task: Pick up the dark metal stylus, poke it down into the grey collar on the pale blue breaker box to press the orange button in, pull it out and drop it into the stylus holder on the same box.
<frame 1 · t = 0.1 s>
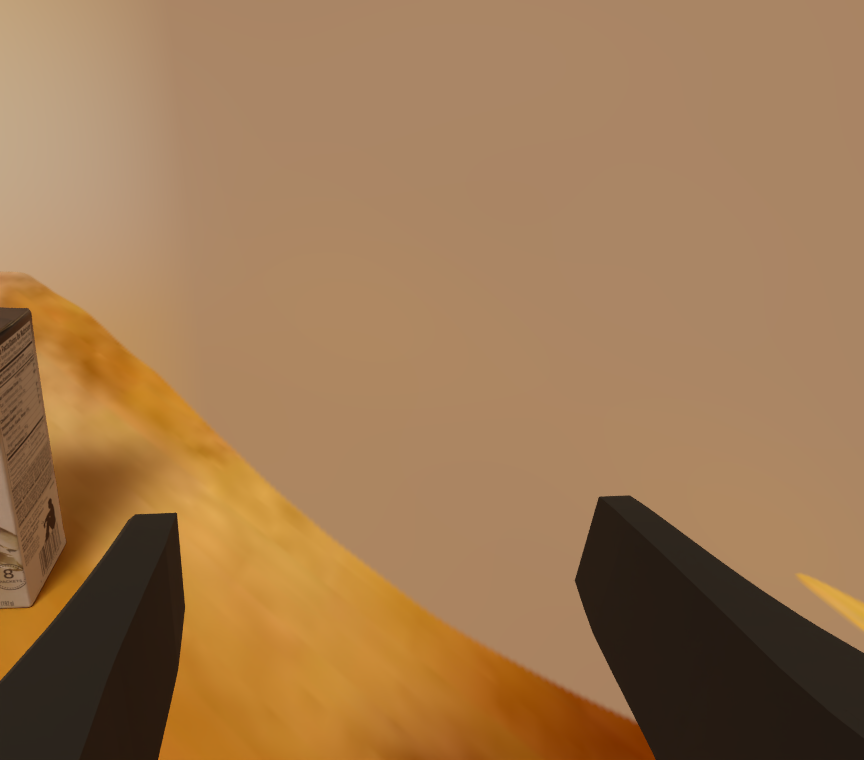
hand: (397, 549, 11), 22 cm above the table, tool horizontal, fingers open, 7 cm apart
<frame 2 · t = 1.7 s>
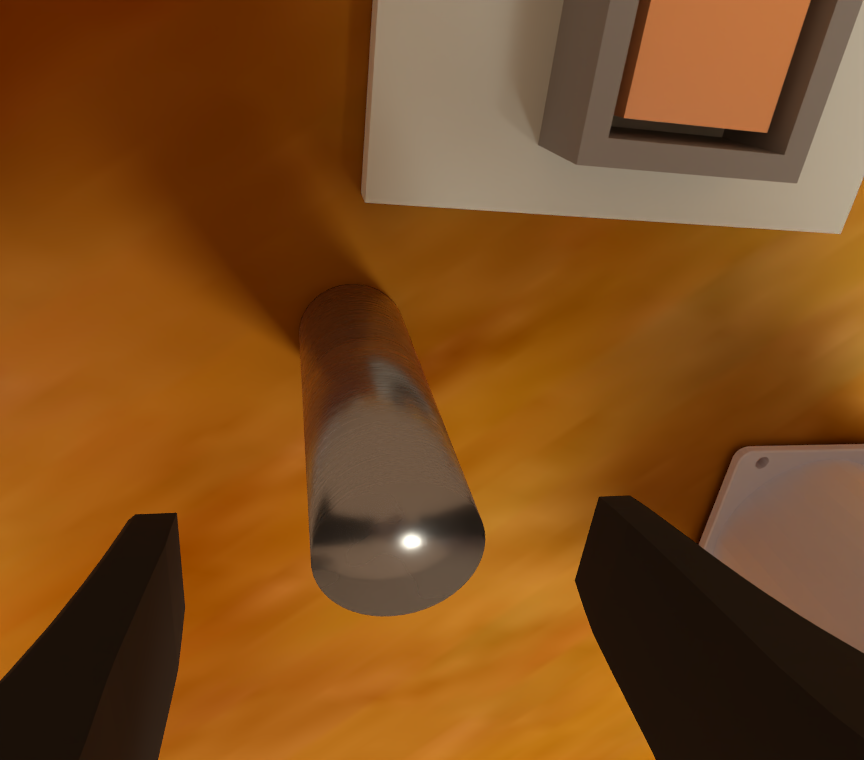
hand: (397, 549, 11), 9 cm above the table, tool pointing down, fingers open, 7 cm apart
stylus: (352, 333, 19), on the table
button: (707, 34, 14), point 3 cm above the table, slide at 0.0 cm
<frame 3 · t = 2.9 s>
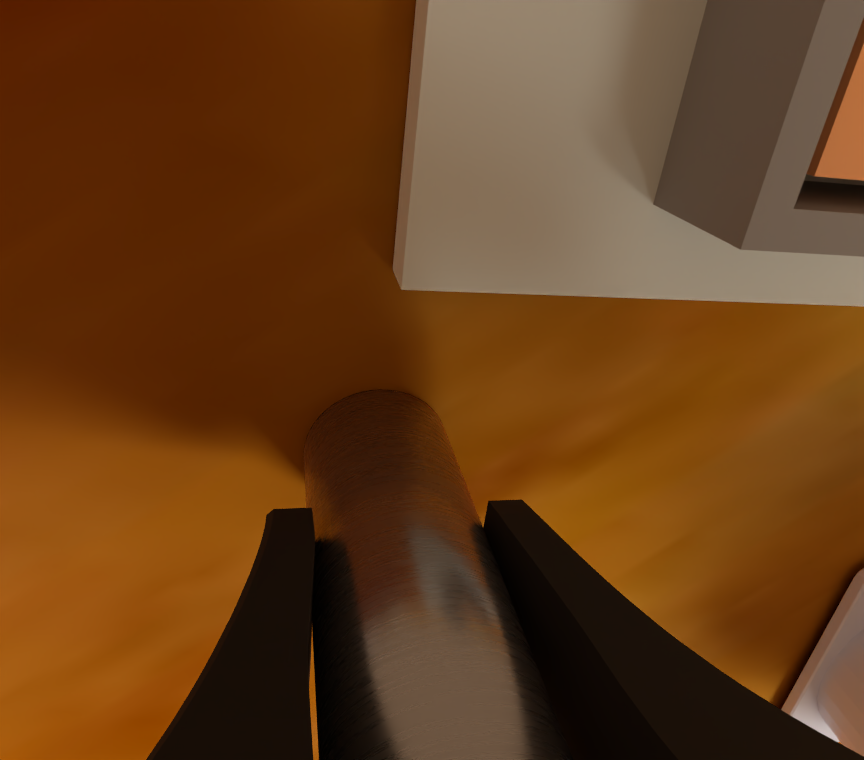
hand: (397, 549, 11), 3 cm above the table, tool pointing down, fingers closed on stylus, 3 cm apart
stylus: (376, 452, 14), on the table, touching gripper
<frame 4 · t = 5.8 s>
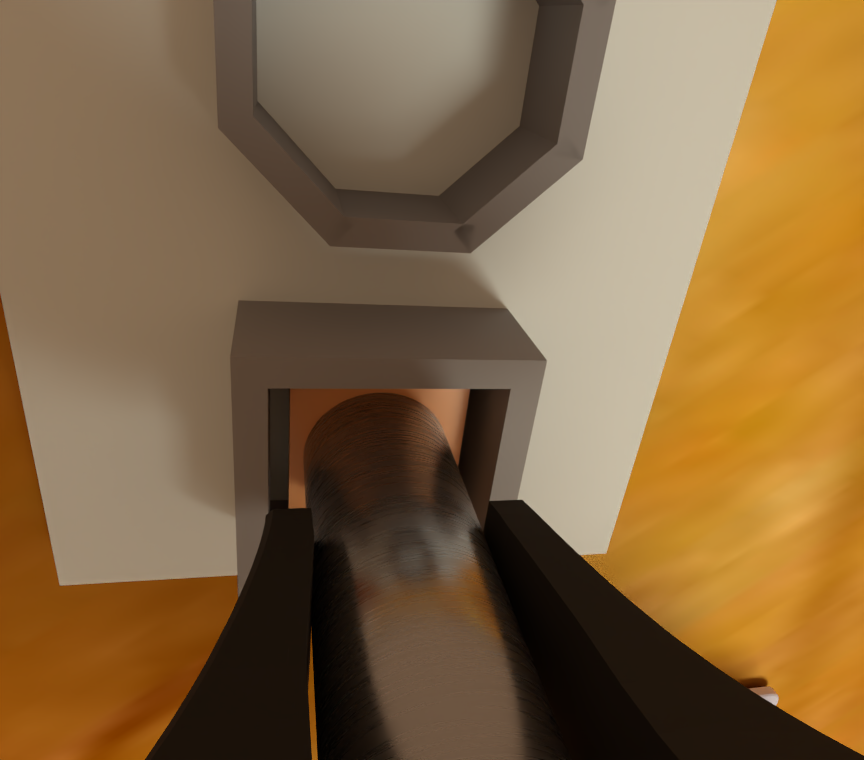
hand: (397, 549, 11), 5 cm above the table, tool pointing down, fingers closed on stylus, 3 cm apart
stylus: (376, 454, 14), point 2 cm above the table, touching button, gripper
button: (373, 437, 14), point 2 cm above the table, slide at 0.9 cm, touching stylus
panel: (375, 256, 14), on the table
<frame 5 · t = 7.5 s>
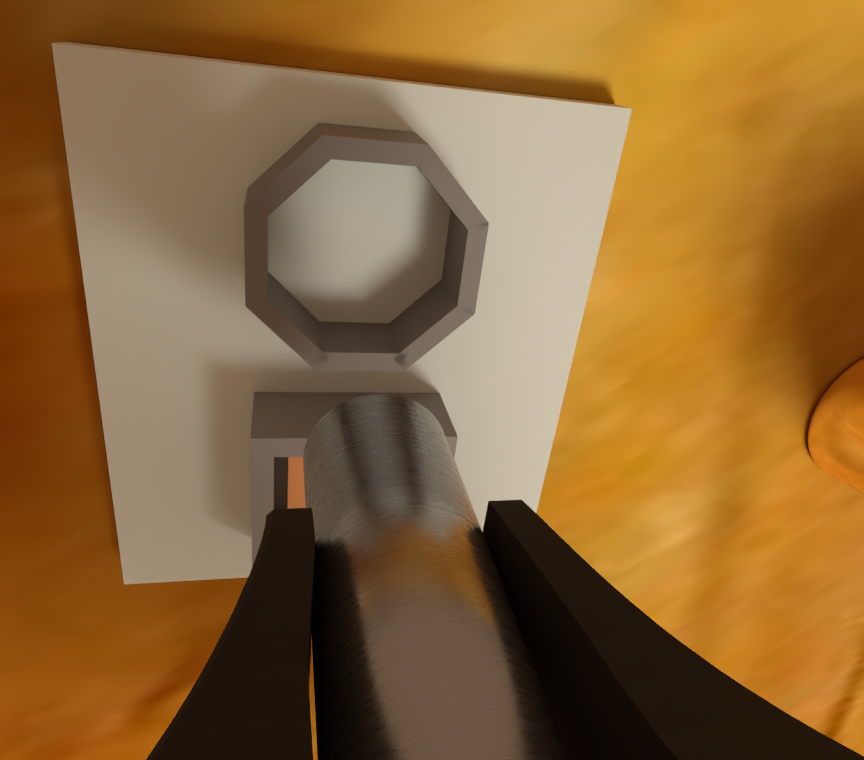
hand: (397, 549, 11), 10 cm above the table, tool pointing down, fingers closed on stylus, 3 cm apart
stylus: (376, 456, 14), point 7 cm above the table, touching gripper
button: (346, 482, 21), point 2 cm above the table, slide at 0.9 cm
panel: (348, 357, 21), on the table
when the fingers open (6 cm above the table, at t = 8.7 s): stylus drops 2 cm, resting on panel.
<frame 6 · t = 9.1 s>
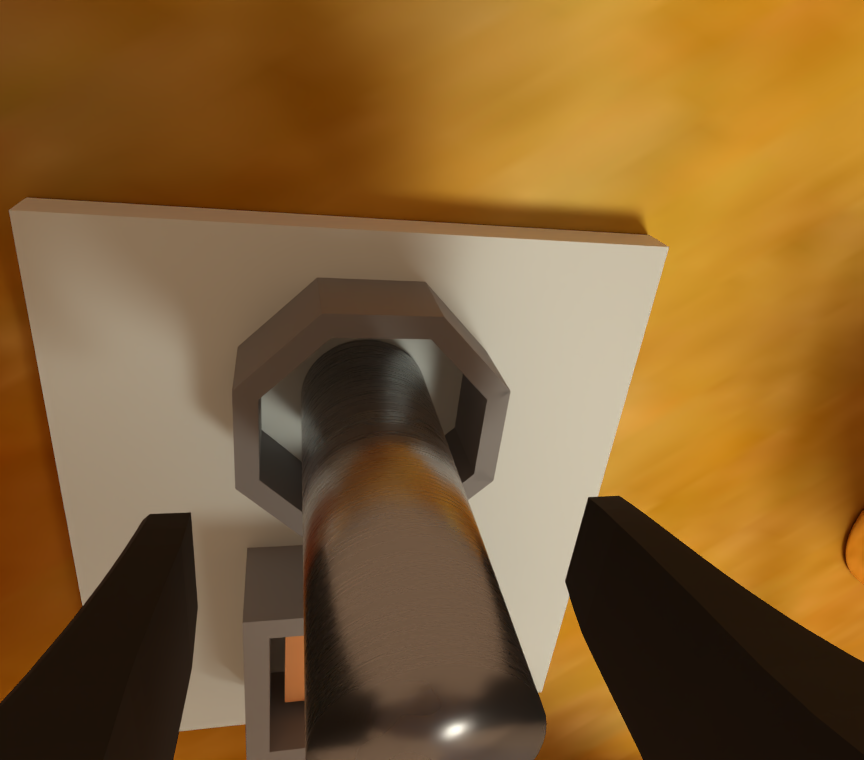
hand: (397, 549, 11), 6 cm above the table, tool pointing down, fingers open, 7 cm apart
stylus: (364, 396, 16), point 1 cm above the table, touching panel
button: (349, 635, 19), point 2 cm above the table, slide at 0.9 cm
panel: (351, 499, 19), on the table
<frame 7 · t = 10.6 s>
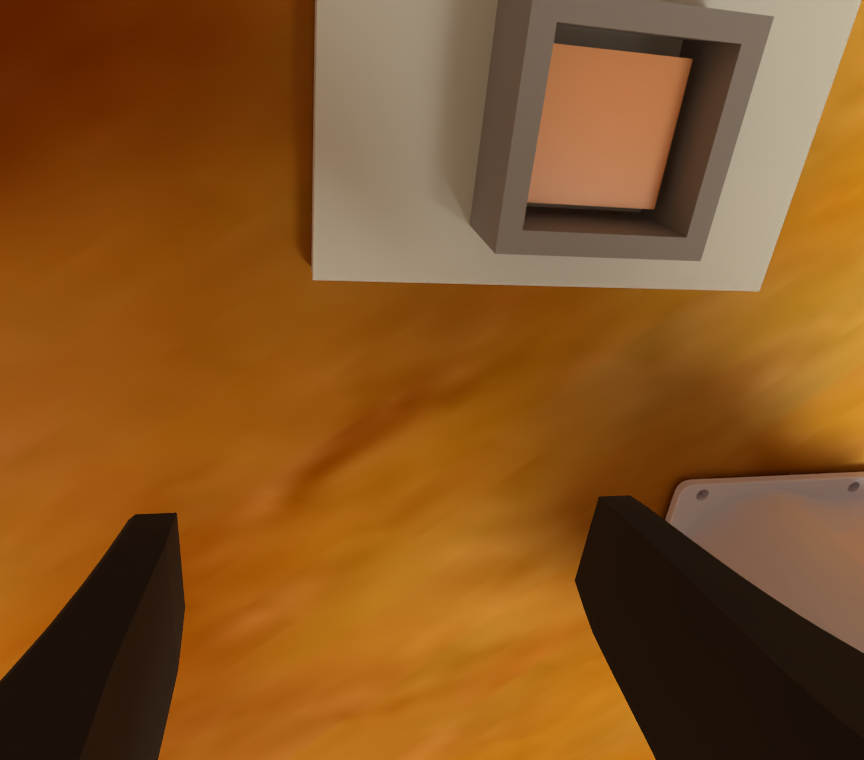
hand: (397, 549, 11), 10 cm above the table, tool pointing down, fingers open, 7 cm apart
button: (596, 128, 17), point 2 cm above the table, slide at 0.9 cm
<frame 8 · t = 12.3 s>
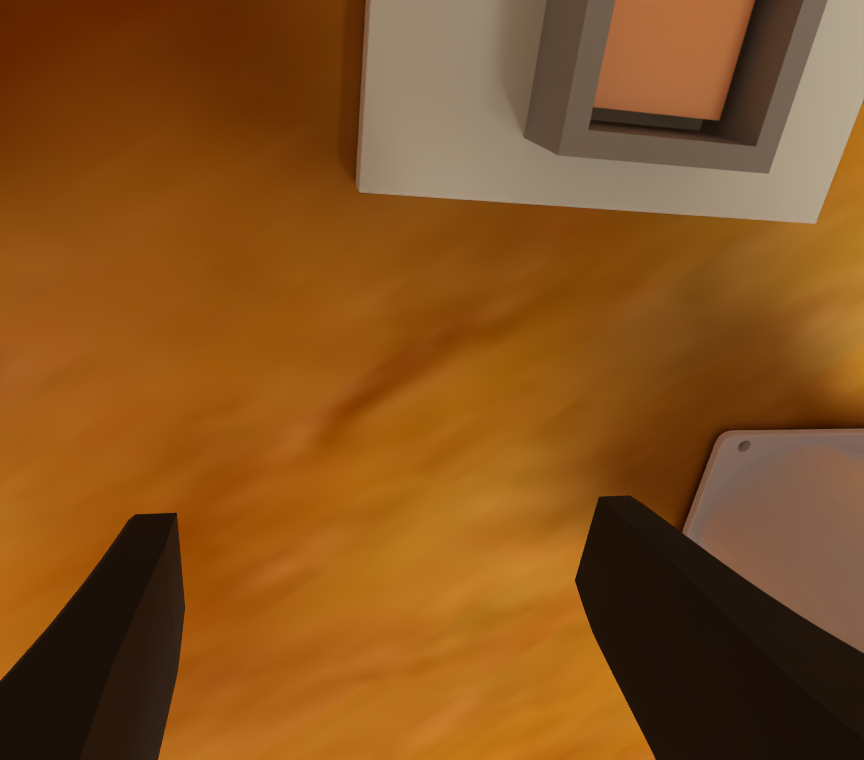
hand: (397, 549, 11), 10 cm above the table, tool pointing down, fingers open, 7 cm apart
button: (663, 31, 16), point 2 cm above the table, slide at 0.9 cm
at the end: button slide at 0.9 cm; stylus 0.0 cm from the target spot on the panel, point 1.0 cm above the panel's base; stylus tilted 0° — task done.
